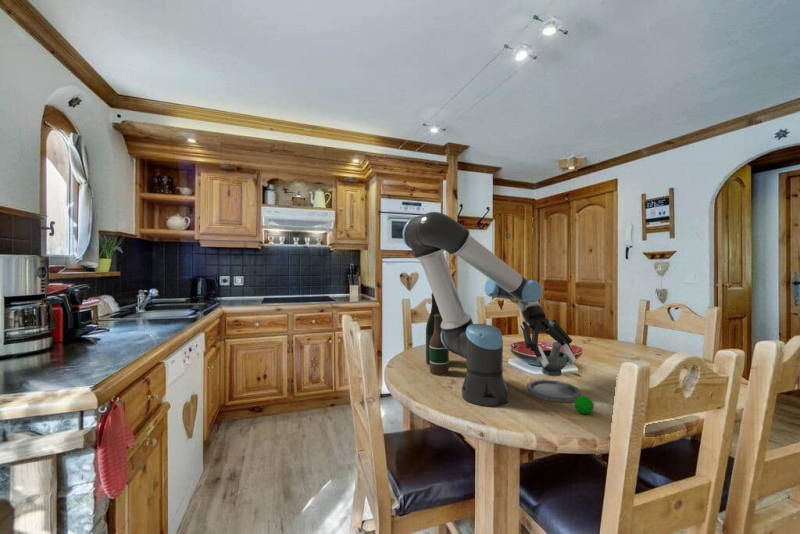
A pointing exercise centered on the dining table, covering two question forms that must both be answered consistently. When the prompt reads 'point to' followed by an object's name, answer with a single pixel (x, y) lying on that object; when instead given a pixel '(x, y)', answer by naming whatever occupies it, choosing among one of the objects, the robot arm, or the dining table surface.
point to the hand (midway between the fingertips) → (560, 363)
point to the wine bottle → (430, 328)
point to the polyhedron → (584, 404)
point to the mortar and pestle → (554, 360)
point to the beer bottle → (438, 350)
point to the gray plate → (553, 390)
